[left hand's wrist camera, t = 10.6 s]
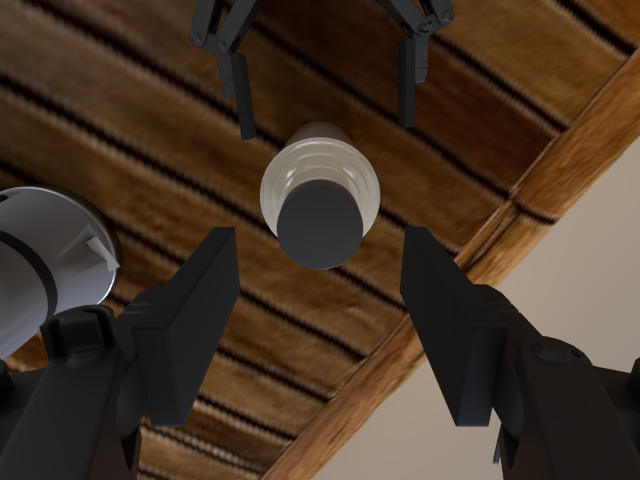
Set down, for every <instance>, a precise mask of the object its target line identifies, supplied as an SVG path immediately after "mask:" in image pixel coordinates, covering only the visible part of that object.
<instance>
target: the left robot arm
mask: <svg viewBox="0 0 640 480" xmlns="http://www.w3.org/2000/svg"><path fill="white" fill-rule="evenodd" d="M121 270H122V252H121V247H120V244H119V241H118V238H117V236H116V234H115V232H114V230H113V228H112V227H111V225H110V224H109V222H108V221H107V220H106V218H105V217H104V216H103V215H102V214H101V213H100V212H99V211H98V210H97V209H96V208H95V207H94V206H93V205H92V204H90V203H89V202H88V201H86V200H85V199H83V198H82V197H80V196H78V195H76V194H75V193H73V192H70V191H68V190H65V189H62V188H60V187H56V186H51V185H45V184H28V185H22V186H18V187H15V188H11V189H8V190H4V191H2V192H0V480H137V473H138V465H139V457H140V450H141V442H142V437H141V431H140V427H139V423H140V421H141V419H142V417H143V415H144V414H145V412H146V410H147V408H148V411H149V416H150V421H151V426H184V425H185V423H186V420H187V418H188V416H189V413H190V411H191V408H192V406H193V404H194V401H195V399H196V396H197V394H198V392H199V389H200V387H201V384H202V382H203V380H204V377H205V375H206V372H207V370H208V368H209V365H210V363H211V360H212V358H213V356H214V353H215V351H216V348H217V346H218V344H219V341H220V339H221V336H222V334H223V332H224V329H225V327H226V324H227V322H228V320H229V317H230V315H231V312H232V310H233V308H234V305H235V303H236V300H237V298H238V296H239V293H240V283H239V271H238V260H237V248H236V236H235V227H214V228H213V229H212V231H211V232H210V233H209V234H208V235H207V237H206V238H205V239H204V240H203V241H202V243H201V244H200V245H199V246H198V247H197V249H196V250H195V251H194V252H193V253H192V255H191V256H190V257H189V258H188V259H187V261H186V262H185V263H184V264H183V265H182V267H181V268H180V269H179V270H178V271H177V273H176V274H175V275H174V276H173V277H172V279H171V280H170V281H169V282H168V283H167V285H166V286H152V287H150V288H148V289H147V290H145V291H143V292H141V293H140V294H138V295H137V296H136V297H135V298H134V299H133V301H132V302H131V303H130V304H129V306H127V307H126V308H125V309H124V310H123V311H122V314H119V315H118V317H117V318H116V319H115V316H114V312H113V309H111V308H110V307H108V306H106V305H100V304H98V303H100V302H101V301H102V300H103V299H104V298H105V297H106V296H107V295H108V294H109V293H110V292H111V291H112V290H113V289H114V287H115V286H116V284H117V282H118V280H119V278H120V275H121ZM400 293H401V296H402V298H403V300H404V303H405V305H406V308H407V310H408V312H409V315H410V317H411V320H412V322H413V324H414V327H415V329H416V332H417V334H418V336H419V339H420V341H421V344H422V346H423V348H424V351H425V353H426V356H427V358H428V360H429V363H430V365H431V368H432V370H433V372H434V375H435V377H436V379H437V382H438V384H439V387H440V389H441V392H442V394H443V396H444V399H445V401H446V404H447V406H448V408H449V411H450V413H451V415H452V418H453V420H454V423H455V425H456V426H489V421H490V416H491V411H492V407H493V408H494V410H495V412H496V414H497V415H498V417H499V419H500V421H501V427H500V431H499V435H498V440H497V444H496V449H495V453H494V458H493V464H495V465H498V463H499V458H500V457H501V464H502V472H503V479H504V480H640V358H638V359H636V360H635V363H634V365H633V368H632V371H631V373H627V372H622V371H616V370H611V369H606V368H601V367H596V366H593V365H592V363H591V361H590V360H589V359H588V357H587V356H586V355H585V354H584V353H583V352H582V351H580V350H579V349H577V348H576V347H574V346H573V345H571V344H568V343H566V342H564V341H562V340H559V339H555V338H551V337H547V336H542V335H541V334H540V333H539V332H538V331H537V330H536V329H535V328H534V327H533V325H532V324H531V323H530V322H529V321H528V320H527V319H526V318H525V317H524V316H523V315H522V314H521V313H519V312H518V310H517V309H516V307H515V306H514V305H512V304H511V302H510V301H509V300H508V299H507V298H506V297H505V296H504V295H503V294H502V293H501V292H499V291H498V290H496V289H494V288H492V287H491V286H489V285H487V284H473V283H472V282H471V281H470V280H469V279H468V277H467V276H466V275H465V274H464V273H463V271H462V270H461V269H460V268H459V267H458V265H457V264H456V263H455V262H454V261H453V259H452V258H451V257H450V256H449V255H448V253H447V252H446V251H445V250H444V249H443V247H442V246H441V245H440V244H439V243H438V241H437V240H436V239H435V238H434V237H433V235H432V234H431V233H430V232H429V231H428V229H427V228H426V227H405V236H404V248H403V260H402V271H401V283H400ZM38 331H40V332H41V335H42V338H43V341H44V344H45V348H46V351H47V354H48V357H49V360H50V362H49V364H48V366H47V367H46V368H42V369H37V370H32V371H27V372H22V373H17V374H12V375H10V374H9V371H8V368H7V365H6V363H5V361H4V360H6V359H7V358H8V357H9V356H10V355H11V354H13V353H14V352H15V351H16V350H17V349H18V348H20V347H21V346H22V345H23V344H24V343H25V342H27V341H28V340H29V339H30V338H31V337H33V336H34V335H35V334H36V333H37V332H38Z"/></svg>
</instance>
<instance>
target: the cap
mask: <svg viewBox="0 0 640 480" xmlns="http://www.w3.org/2000/svg"><path fill="white" fill-rule="evenodd" d="M277 237H278V240H279V243H280V245H281V247H282V249H283V250H284V252H285V253H286V254H287V255H288V256H289V257H290V258H291V259H292V260H293V261H295V262H296V263H298V264H300V265H302V266H304V267H308V268H312V269H328V268H333V267H336V266H338V265H340V264H342V263H344V262H345V261H347V260H348V259H349V258H350V257H351V256H352V255H353V254H354V253H355V252H356V250H357V249H358V247H359V245H360V243H361V240H362V237H363V220H362V216H361V213H360V210H359V208H358V205H357V202H356V200H355V198H354V197H353V195H352V194H351V193H350V192H349V191H348V190H347V189H346V188H345V187H343V186H342V185H340V184H338V183H336V182H334V181H330V180H325V179H315V180H310V181H306V182H304V183H302V184H300V185H298V186H297V187H295V188H294V189H293V190H292V191H291V192H290V193H289V194H288V195H287V197H286V198H285V200H284V202H283V205H282V207H281V210H280V213H279V216H278V220H277Z"/></svg>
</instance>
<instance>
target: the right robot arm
mask: <svg viewBox="0 0 640 480" xmlns="http://www.w3.org/2000/svg"><path fill="white" fill-rule="evenodd" d="M379 1H380V3H381V4H382V5H383V6H384V8H385V9H386V10H387V11H388V13H389V14H390V15H391V16H392V18H393V19H394V20H395V21H396V23H397V24H398V25H399V26H400V28H401V29H402V30H403V31H404V33H405V34H406V35H407V36H408V39H405V40H403V41H402V42H400V43H399V125H400V126H403V127H413V126H414V118H415V83H419V82H425V80H426V77H427V74H428V41H429V37H430V35H431V34H432V33H433V32H435V31H437V30H439V29H441V28H443V27H445V26H446V25H448V24H450V23H451V22H452V21H453V19H454V15H455V14H454V10H453V8H452V5H451V3H450V0H419V1H420V4H421V6H422V8H423V10H424V13H425V15H426V17H425V16H424V15H423V13H422V12H421V11H420V9H419V8H418V7H417V5H416V4H415V3H414V2H413V0H379ZM224 2H225V0H197V4H196V8H195V12H194V16H193V20H192V24H191V28H190V32H189V40H190V42H191V43H192V44H193V45H195V46H197V47H199V48H202V49H204V50H208V51H211V52H213V53H214V54H215V55H216V57H217V61H218V67H219V73H220V80H221V86H222V92H223V94H224V95H225V97H226V98H236V102H237V109H238V116H239V123H240V129H241V136H242V140H249V139H252V138H254V137H256V132H255V124H254V116H253V109H252V101H251V94H250V86H249V79H248V71H247V64H246V57H245V56H243V55H242V54H240V53H235V52H236V50H237V49H238V47H239V45H240V44H241V42H242V40H243V38H244V37H245V35H246V33H247V31H248V30H249V28H250V26H251V24H252V23H253V21H254V19H255V18H256V16H257V14H258V12H259V11H260V9H261V7H262V5H263V4H264V2H265V0H236V2H235V4H234V6H233V7H232V9H231V11H230V13H229V15H228V16H227V18H226V20H225V22H224V24H223V25H222V27H221V29H220V31H219V33H218V34H217V35H216V31H217V27H218V24H219V20H220V16H221V13H222V9H223V5H224Z"/></svg>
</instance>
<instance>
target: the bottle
mask: <svg viewBox="0 0 640 480" xmlns="http://www.w3.org/2000/svg"><path fill="white" fill-rule="evenodd" d="M315 179H325V180H330V181H334V182H336V183H338V184H340V185H342V186H343V187H345V188H346V189H347V190H348V191H349V192H350V193H351V194H352V195H353V197H354V198H355V200H356V202H357V205H358V208H359V210H360V213H361V216H362V220H363V236H364V235H365V234H366V233H367V232H368V230H369V229H370V227H371V226H372V224H373V222H374V220H375V218H376V215H377V213H378V208H379V203H380V189H379V183H378V179H377V176H376V174H375V172H374V169H373V167H372V166H371V164H370V163H369V161H368V160H367V159H366V157H365V156H364V155H363V154H362V152H361V151H360V150H359V149H358V147H357V146H356V145H355V144H354V142H353V141H352V140H351V139H350V137H349V136H348V135H347V134H346V133H345V132H344V131H343V130H342V129H341V128H339V127H338V126H336V125H334V124H331V123H328V122H312V123H309V124H306V125H304V126H302V127H301V128H299V129H298V130H297V131H296V132H295V133H294V134H293V135H292V136H291V137H290V139H289V140H288V141H287V142H286V144H285V145H284V146H283V148H282V149H281V150H280V151H279V153H278V154H277V155H276V156H275V158H274V159H273V160H272V161H271V163H270V164H269V166H268V168H267V169H266V171H265V174H264V176H263V179H262V183H261V189H260V203H261V209H262V212H263V216H264V218H265V220H266V222H267V224H268V226H269V227H270V229H271V230H272V231H273V233H274V234H275V235H276V236H277V220H278V216H279V213H280V210H281V207H282V205H283V202H284V200H285V198H286V197H287V195H288V194H289V193H290V192H291V191H292V190H293V189H294V188H295V187H297V186H298V185H300V184H302V183H304V182H306V181H310V180H315Z"/></svg>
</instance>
